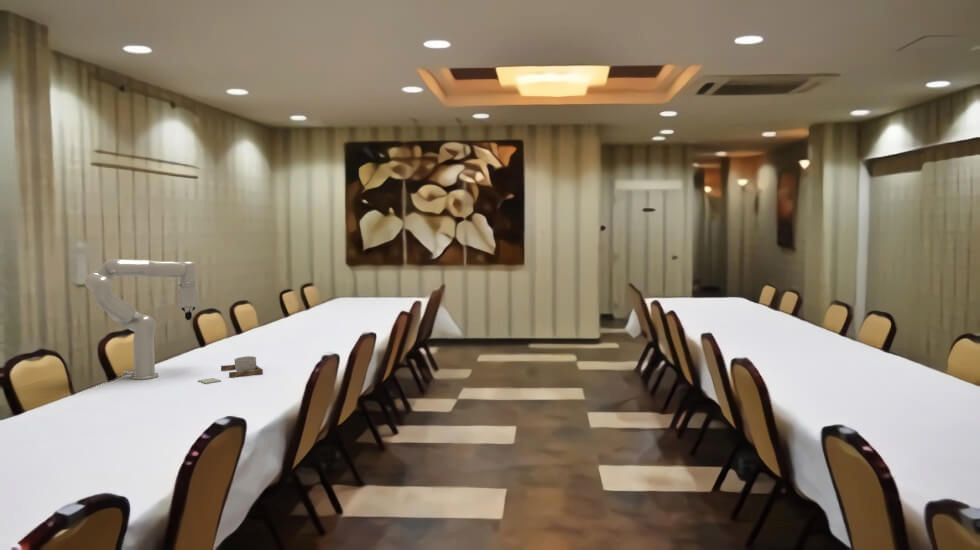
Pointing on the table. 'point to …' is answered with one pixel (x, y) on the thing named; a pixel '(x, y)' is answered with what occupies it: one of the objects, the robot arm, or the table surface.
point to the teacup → (245, 363)
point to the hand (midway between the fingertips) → (188, 319)
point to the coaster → (209, 381)
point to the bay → (241, 373)
